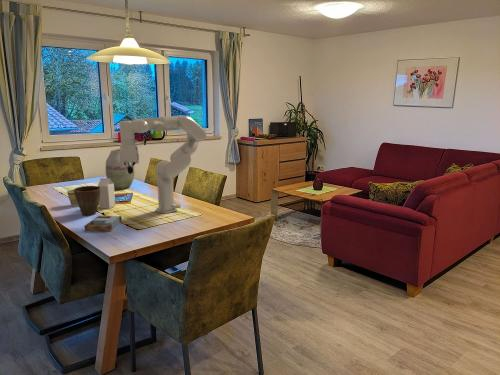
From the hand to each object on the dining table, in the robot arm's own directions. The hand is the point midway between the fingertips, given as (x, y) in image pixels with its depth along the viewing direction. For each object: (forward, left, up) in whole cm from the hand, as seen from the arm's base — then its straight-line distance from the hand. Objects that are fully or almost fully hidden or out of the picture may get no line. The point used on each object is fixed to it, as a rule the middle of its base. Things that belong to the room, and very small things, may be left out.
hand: (130, 173), depth 232 cm
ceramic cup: (+43, -21, -26) cm, 54 cm away
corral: (+10, +20, -26) cm, 34 cm away
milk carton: (+23, -18, -26) cm, 39 cm away
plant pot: (+28, -2, -26) cm, 38 cm away
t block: (+9, +20, -26) cm, 34 cm away
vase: (+33, -72, -26) cm, 83 cm away
